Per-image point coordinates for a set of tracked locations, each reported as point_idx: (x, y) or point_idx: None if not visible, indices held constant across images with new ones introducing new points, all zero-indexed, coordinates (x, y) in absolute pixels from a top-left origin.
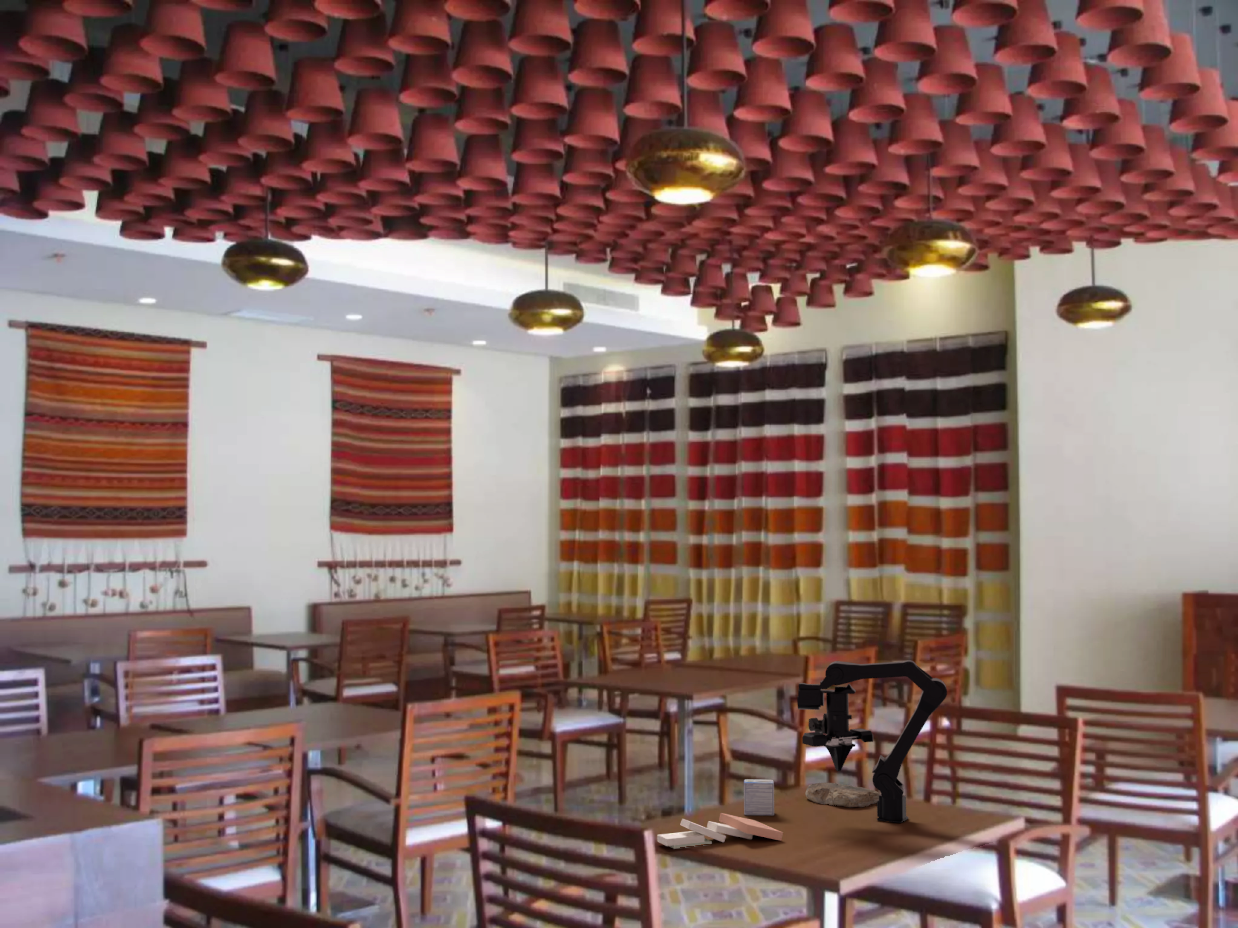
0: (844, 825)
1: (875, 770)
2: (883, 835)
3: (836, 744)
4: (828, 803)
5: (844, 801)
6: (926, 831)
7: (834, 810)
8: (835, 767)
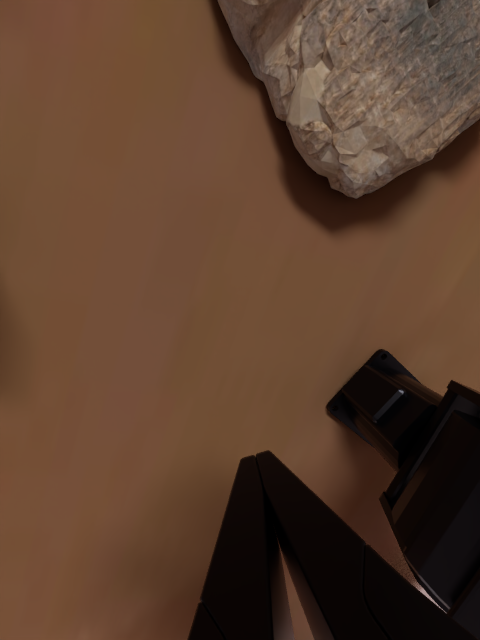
0: (202, 447)
1: (476, 637)
2: None
3: None
4: (268, 92)
5: (319, 170)
6: (389, 524)
7: (251, 218)
8: (236, 486)
